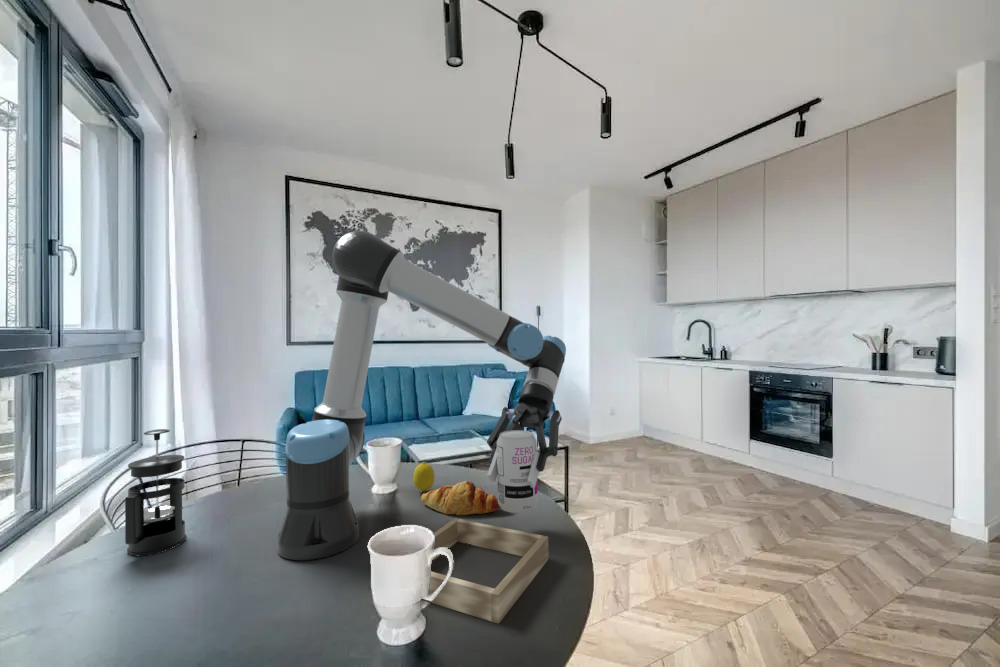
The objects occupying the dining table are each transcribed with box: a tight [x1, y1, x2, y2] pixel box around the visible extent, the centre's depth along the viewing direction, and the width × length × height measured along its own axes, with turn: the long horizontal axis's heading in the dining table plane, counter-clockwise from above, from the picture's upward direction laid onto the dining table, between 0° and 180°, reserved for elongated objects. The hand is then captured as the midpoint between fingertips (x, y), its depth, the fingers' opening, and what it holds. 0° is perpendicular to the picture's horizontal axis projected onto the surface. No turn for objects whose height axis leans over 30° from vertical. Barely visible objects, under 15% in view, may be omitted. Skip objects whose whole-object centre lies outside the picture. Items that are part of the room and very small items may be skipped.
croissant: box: [420, 480, 502, 516], centre depth 103 cm, size 21×10×8 cm, turn 74°
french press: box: [124, 428, 187, 556], centre depth 87 cm, size 12×9×23 cm
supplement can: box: [497, 429, 539, 514], centre depth 90 cm, size 8×8×15 cm
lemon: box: [412, 461, 435, 493], centre depth 115 cm, size 6×6×8 cm
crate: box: [429, 517, 550, 625], centre depth 75 cm, size 20×20×4 cm
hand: (510, 481), depth 87 cm, fingers closed on supplement can, 8 cm apart
